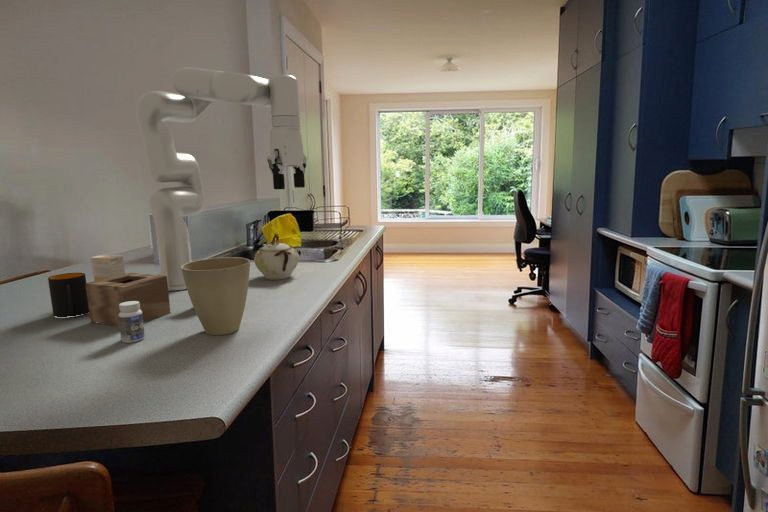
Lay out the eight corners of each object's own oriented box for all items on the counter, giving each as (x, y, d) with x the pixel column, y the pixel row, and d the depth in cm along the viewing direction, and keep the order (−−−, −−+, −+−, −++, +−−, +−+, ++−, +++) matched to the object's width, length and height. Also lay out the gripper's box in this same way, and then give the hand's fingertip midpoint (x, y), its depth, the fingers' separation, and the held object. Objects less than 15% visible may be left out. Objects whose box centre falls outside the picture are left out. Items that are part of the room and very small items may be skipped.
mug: (53, 324, 124) (47, 283, 122) (53, 313, 134) (48, 275, 132) (91, 318, 128) (86, 278, 126) (89, 307, 138) (84, 271, 136)
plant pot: (202, 321, 123) (196, 257, 120) (262, 320, 123) (257, 256, 120) (176, 342, 108) (168, 270, 106) (243, 341, 108) (238, 269, 105)
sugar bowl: (309, 279, 167) (307, 234, 164) (266, 285, 159) (262, 239, 156) (288, 269, 183) (286, 229, 181) (248, 275, 176) (244, 232, 173)
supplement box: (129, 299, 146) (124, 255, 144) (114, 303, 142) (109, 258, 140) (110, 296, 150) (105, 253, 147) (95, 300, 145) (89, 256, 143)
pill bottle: (135, 343, 108) (131, 306, 107) (116, 342, 109) (111, 305, 107) (149, 336, 113) (145, 300, 111) (131, 335, 114) (127, 299, 112)
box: (90, 322, 124) (85, 283, 123) (135, 308, 136) (130, 272, 134) (127, 327, 119) (122, 287, 117) (170, 312, 131) (166, 275, 129)
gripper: (292, 126, 143) (295, 186, 146) (254, 122, 128) (258, 190, 131) (314, 125, 140) (317, 186, 143) (278, 121, 125) (282, 189, 128)
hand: (289, 188), depth 137 cm, fingers open, 9 cm apart
